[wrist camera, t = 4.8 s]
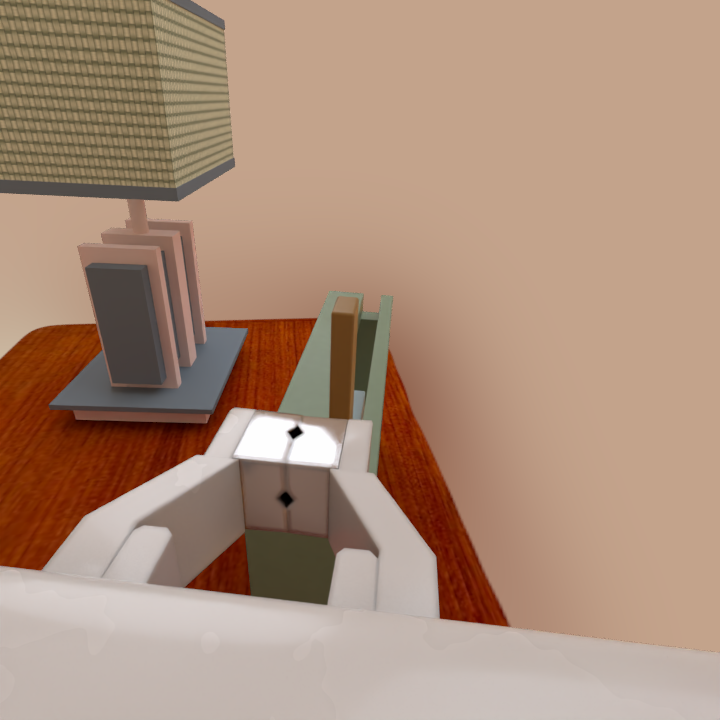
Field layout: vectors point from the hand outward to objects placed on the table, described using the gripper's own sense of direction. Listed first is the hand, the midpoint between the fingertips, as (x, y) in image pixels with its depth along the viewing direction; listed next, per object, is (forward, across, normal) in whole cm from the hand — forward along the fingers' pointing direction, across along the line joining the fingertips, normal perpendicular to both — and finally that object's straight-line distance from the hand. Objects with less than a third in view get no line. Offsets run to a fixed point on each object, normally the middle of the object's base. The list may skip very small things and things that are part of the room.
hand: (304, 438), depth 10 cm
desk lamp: (+33, +21, +21) cm, 44 cm away
